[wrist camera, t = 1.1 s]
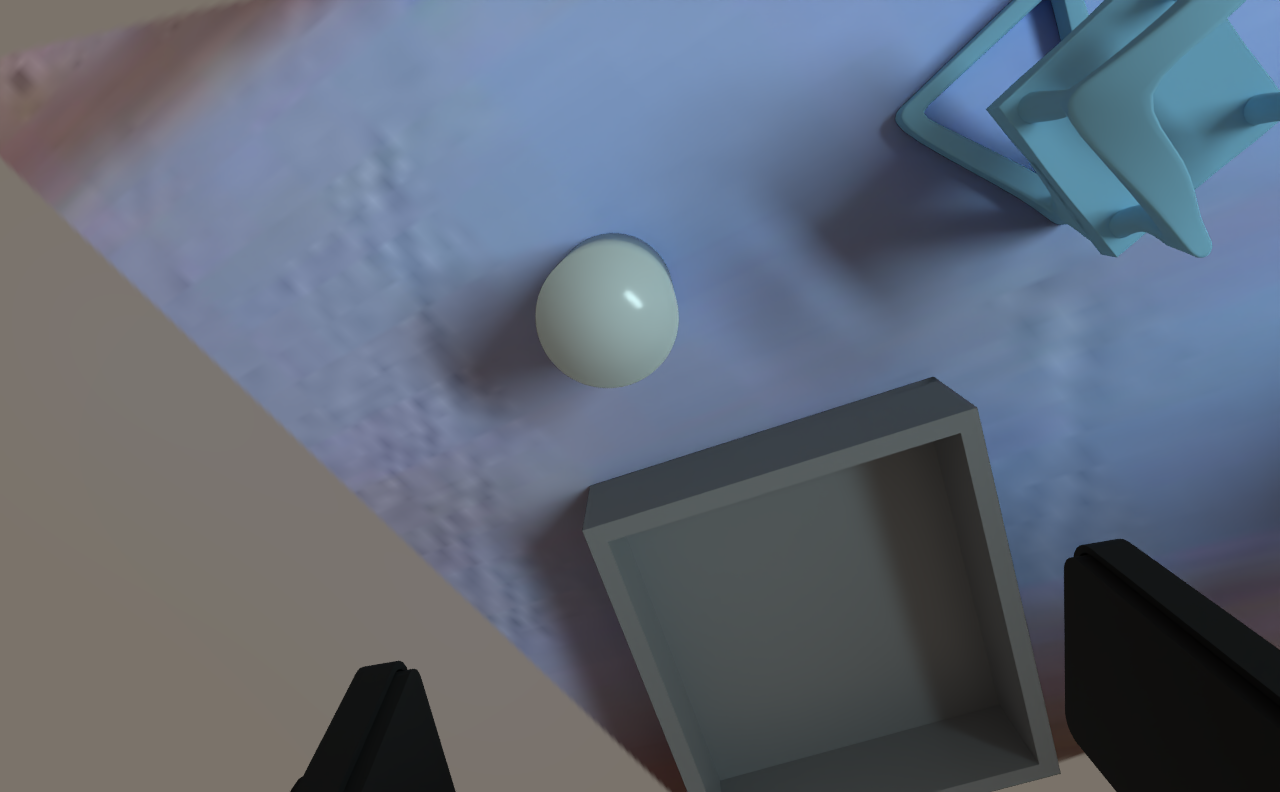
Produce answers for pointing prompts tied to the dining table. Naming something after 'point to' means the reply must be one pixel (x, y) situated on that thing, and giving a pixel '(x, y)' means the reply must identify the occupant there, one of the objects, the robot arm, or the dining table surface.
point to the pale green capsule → (608, 312)
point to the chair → (1116, 116)
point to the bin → (830, 605)
